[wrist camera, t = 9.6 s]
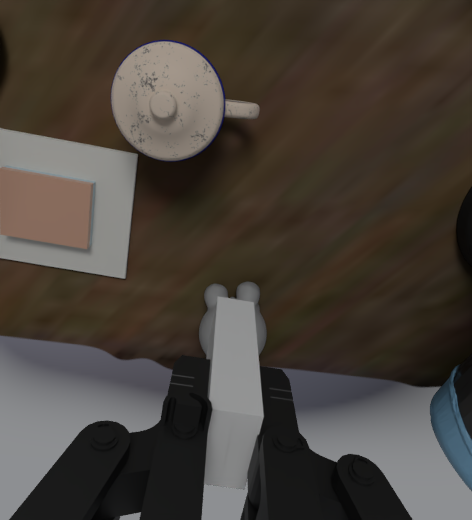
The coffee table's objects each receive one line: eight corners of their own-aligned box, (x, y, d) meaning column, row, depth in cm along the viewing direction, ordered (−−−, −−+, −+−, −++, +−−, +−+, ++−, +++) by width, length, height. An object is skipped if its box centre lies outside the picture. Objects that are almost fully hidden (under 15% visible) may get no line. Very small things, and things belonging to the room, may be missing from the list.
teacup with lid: (133, 143, 44) (100, 162, 33) (134, 43, 40) (98, 28, 29) (251, 155, 44) (256, 178, 33) (262, 58, 41) (271, 48, 30)
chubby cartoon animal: (206, 340, 56) (201, 401, 49) (200, 275, 47) (193, 340, 41) (262, 340, 55) (264, 402, 49) (266, 276, 47) (269, 341, 41)
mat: (138, 153, 44) (137, 154, 44) (126, 276, 49) (125, 278, 49) (-44, 120, 43) (-47, 120, 42) (-37, 250, 48) (-39, 251, 47)
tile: (90, 184, 43) (-1, 168, 42) (87, 249, 46) (0, 234, 45) (95, 181, 45) (6, 165, 44) (91, 244, 47) (7, 229, 47)
